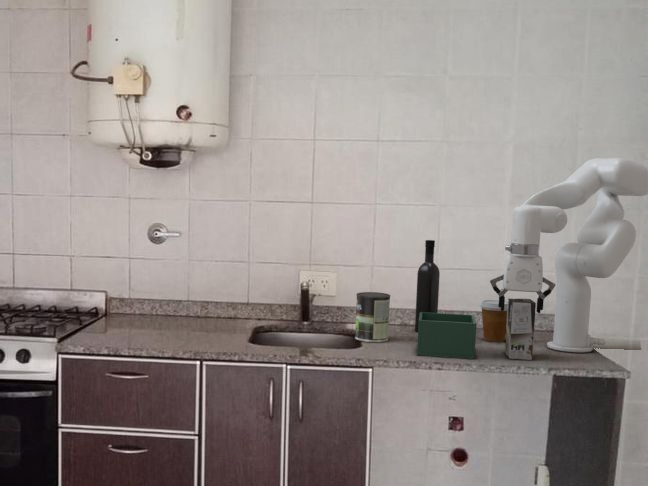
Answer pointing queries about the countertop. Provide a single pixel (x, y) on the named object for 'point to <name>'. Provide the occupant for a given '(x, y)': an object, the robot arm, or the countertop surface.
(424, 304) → the wine bottle
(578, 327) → the robot arm
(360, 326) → the coffee can
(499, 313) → the disposable coffee cup
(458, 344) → the green storage bin
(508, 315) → the coffee box
